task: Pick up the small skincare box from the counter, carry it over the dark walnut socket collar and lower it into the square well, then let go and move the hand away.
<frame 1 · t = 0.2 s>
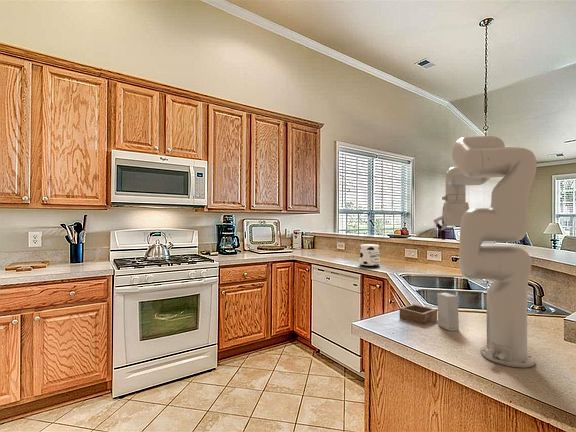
hand: (455, 239, 133), 31 cm above the worktop, tool pointing down, fingers open, 9 cm apart
socket block: (418, 319, 124), on the worktop
skincare box: (447, 328, 114), on the worktop
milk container: (369, 266, 264), on the worktop
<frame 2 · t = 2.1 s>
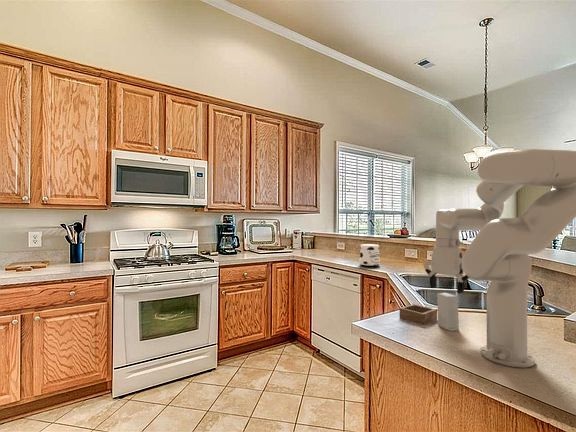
hand: (446, 290, 115), 14 cm above the worktop, tool pointing down, fingers open, 9 cm apart
nothing on the worktop moved.
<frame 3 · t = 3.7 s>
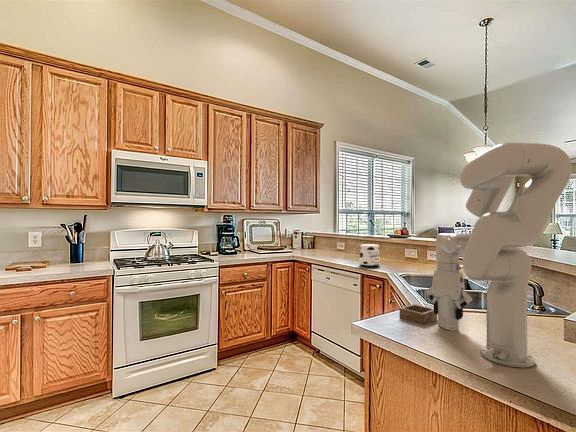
hand: (447, 316, 114), 4 cm above the worktop, tool pointing down, fingers closed on skincare box, 7 cm apart
skincare box: (447, 328, 114), on the worktop, touching gripper
everything else where it was.
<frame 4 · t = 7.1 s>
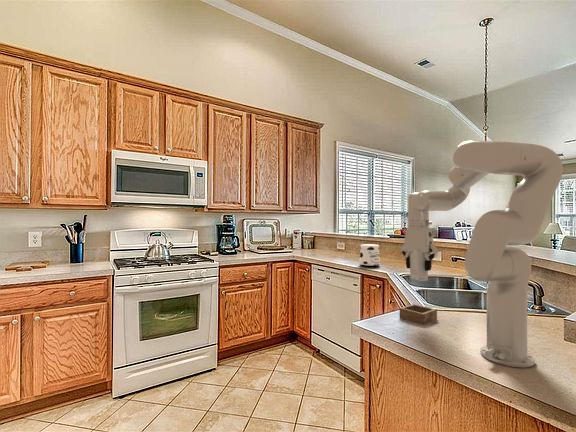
hand: (418, 268, 124), 20 cm above the worktop, tool pointing down, fingers closed on skincare box, 7 cm apart
skincare box: (418, 280, 124), point 15 cm above the worktop, touching gripper
everything else where it was.
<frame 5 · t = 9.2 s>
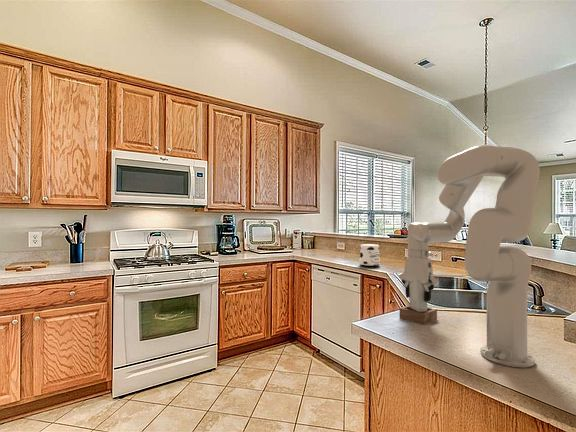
hand: (417, 298, 124), 8 cm above the worktop, tool pointing down, fingers closed on skincare box, 7 cm apart
skincare box: (417, 310, 124), point 4 cm above the worktop, touching gripper
everything else where it was.
when the fingers open (5 cm above the worktop, at t = 10.8 s): skincare box stays where it is, resting in socket block.
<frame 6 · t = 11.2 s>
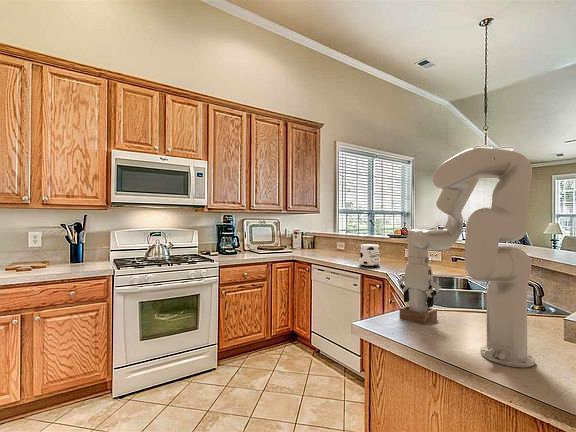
hand: (418, 304, 124), 6 cm above the worktop, tool pointing down, fingers open, 9 cm apart
skincare box: (417, 319, 124), resting in socket block
everything else where it was.
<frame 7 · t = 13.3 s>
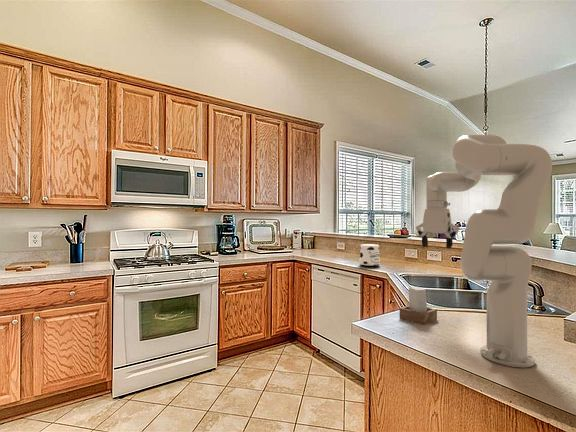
hand: (436, 247, 129), 28 cm above the worktop, tool pointing down, fingers open, 9 cm apart
nothing on the worktop moved.
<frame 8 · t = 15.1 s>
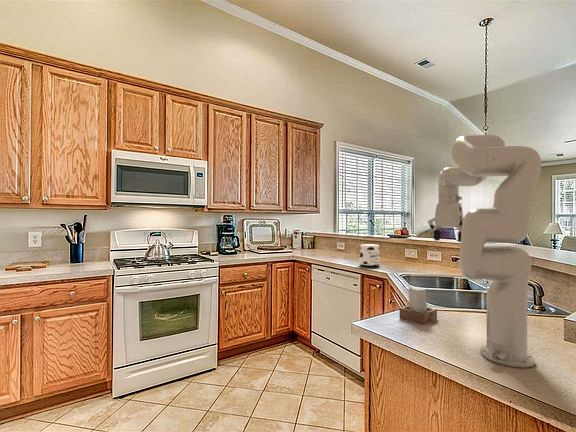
hand: (448, 240, 132), 30 cm above the worktop, tool pointing down, fingers open, 9 cm apart
nothing on the worktop moved.
at the end: skincare box inside the target area on the socket block (0.1 cm from its centre), point 0.0 cm above the socket block's base; skincare box tilted 0°; the gripper is holding nothing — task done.
